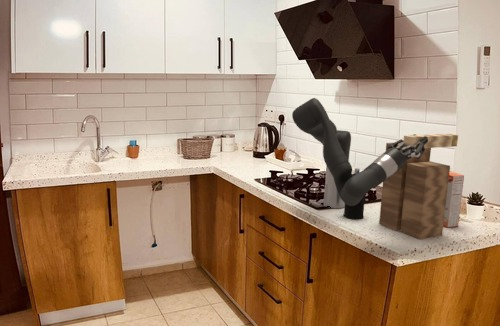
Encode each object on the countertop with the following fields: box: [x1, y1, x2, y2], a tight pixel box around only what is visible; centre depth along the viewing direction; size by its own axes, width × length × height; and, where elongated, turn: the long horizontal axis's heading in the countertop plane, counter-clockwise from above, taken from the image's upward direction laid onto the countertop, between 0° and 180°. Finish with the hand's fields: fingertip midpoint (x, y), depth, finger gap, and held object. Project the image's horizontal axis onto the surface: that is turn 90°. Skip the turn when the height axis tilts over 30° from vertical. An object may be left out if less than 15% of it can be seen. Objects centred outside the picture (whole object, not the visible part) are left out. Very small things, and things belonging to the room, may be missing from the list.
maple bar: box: [403, 133, 459, 149], centre depth 166 cm, size 23×4×4 cm, turn 119°
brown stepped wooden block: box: [378, 142, 451, 240], centre depth 177 cm, size 14×19×32 cm
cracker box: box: [443, 170, 465, 228], centre depth 188 cm, size 14×6×21 cm, turn 21°
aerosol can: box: [343, 167, 366, 220], centre depth 192 cm, size 8×8×20 cm
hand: (421, 137), depth 164 cm, fingers closed on maple bar, 4 cm apart
